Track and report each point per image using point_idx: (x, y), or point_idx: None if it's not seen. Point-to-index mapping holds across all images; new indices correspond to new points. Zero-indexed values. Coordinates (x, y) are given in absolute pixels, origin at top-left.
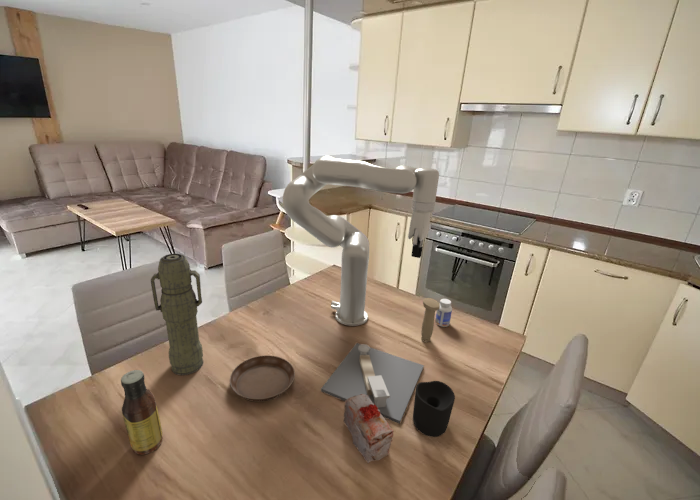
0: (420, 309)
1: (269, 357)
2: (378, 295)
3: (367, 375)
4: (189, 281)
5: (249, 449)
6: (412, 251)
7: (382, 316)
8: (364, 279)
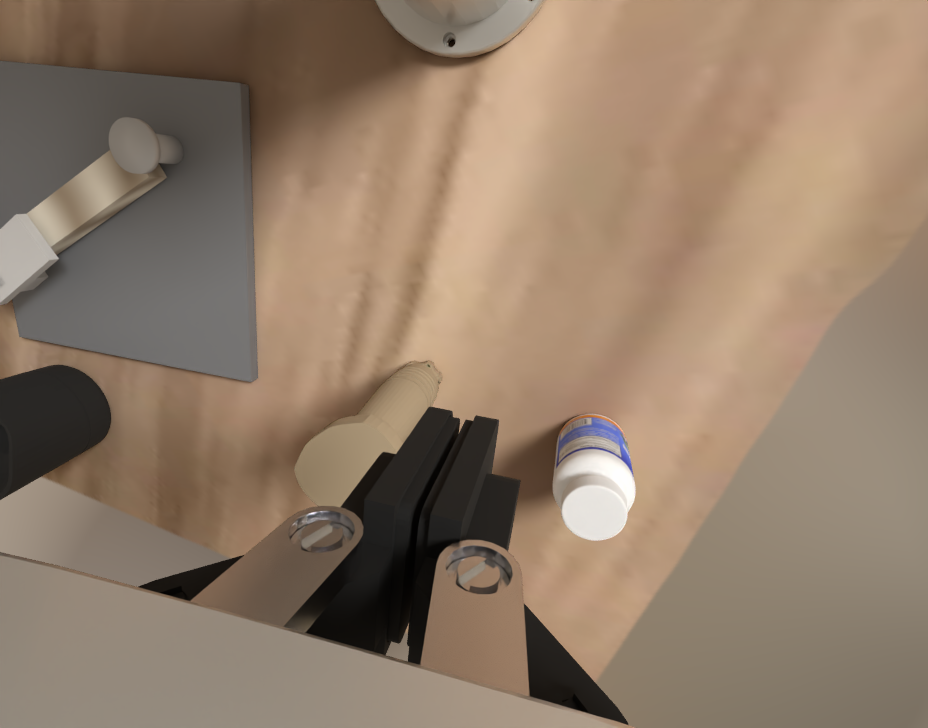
0: (704, 333)
1: None
2: (835, 15)
3: (55, 206)
4: None
5: None
6: (406, 447)
7: (545, 133)
8: None
